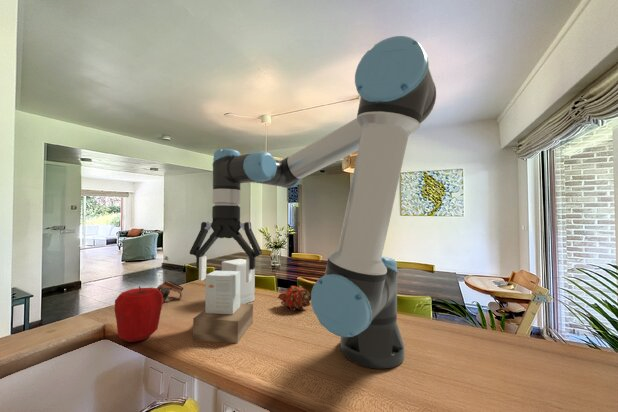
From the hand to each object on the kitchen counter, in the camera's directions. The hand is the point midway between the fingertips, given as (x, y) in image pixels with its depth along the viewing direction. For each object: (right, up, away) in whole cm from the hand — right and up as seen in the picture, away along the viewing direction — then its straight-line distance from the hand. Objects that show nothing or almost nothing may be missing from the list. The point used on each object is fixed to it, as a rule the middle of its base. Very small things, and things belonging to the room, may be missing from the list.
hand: (225, 280), depth 72 cm
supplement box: (-3, -15, +23) cm, 28 cm away
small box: (-1, -9, 0) cm, 9 cm away
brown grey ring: (-29, -14, +22) cm, 39 cm away
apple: (-21, -14, -5) cm, 26 cm away
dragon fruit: (+18, -15, +17) cm, 29 cm away
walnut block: (0, -14, 0) cm, 14 cm away
